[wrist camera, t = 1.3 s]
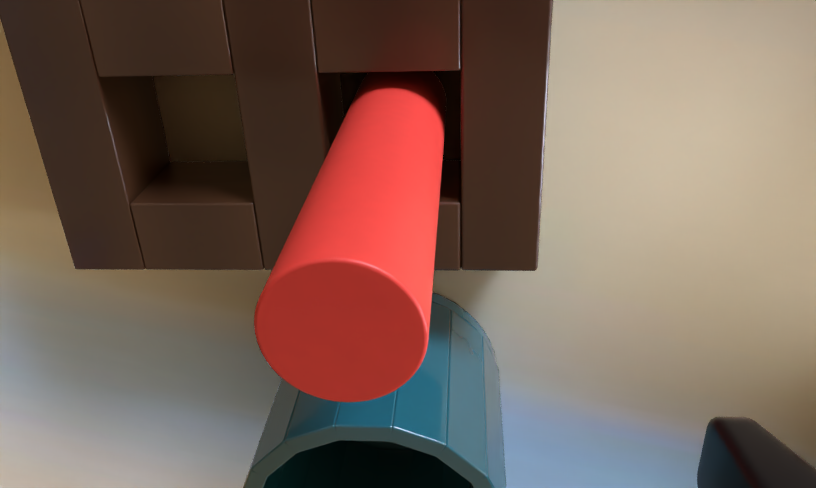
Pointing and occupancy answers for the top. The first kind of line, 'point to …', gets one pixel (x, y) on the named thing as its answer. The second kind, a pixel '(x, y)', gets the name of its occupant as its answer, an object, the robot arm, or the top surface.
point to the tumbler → (396, 423)
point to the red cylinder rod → (362, 249)
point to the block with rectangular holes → (273, 120)
